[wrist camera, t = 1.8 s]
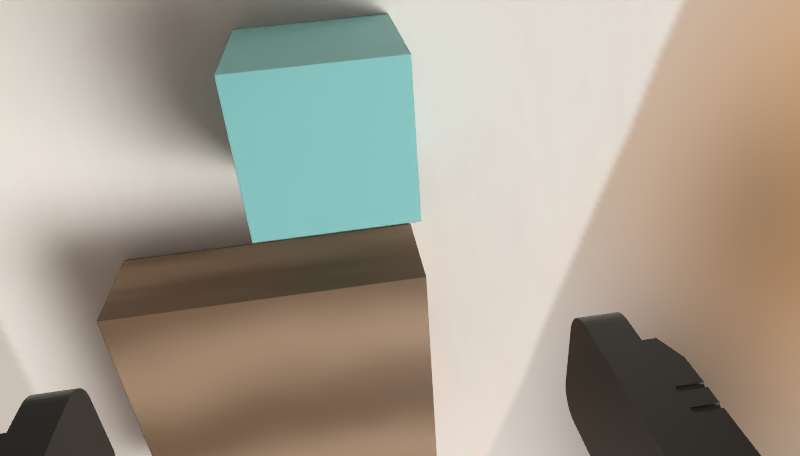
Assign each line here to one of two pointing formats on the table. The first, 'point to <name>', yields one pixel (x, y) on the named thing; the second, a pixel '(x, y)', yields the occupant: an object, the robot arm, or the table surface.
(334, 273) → the walnut base
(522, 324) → the table surface
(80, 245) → the table surface
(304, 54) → the teal cube
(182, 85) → the table surface
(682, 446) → the robot arm
